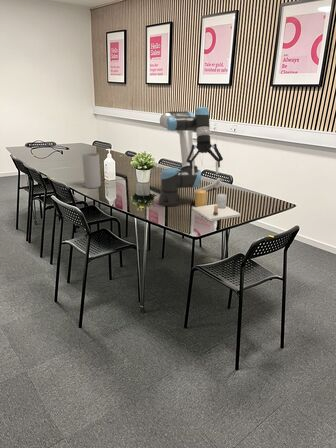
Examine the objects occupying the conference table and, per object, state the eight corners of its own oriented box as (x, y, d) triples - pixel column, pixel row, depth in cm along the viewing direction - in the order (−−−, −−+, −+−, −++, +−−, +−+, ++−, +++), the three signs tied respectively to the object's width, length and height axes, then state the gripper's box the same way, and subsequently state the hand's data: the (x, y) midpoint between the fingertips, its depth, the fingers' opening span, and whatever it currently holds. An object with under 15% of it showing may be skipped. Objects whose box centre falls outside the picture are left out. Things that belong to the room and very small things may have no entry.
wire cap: (193, 204, 227) (194, 190, 223) (202, 203, 230) (203, 189, 226) (198, 207, 221) (199, 193, 218) (207, 206, 224) (208, 192, 220)
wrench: (194, 197, 251) (221, 186, 268) (196, 198, 250) (222, 186, 267) (193, 187, 248) (221, 176, 264) (195, 188, 246) (222, 177, 263)
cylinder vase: (102, 184, 271) (100, 153, 261) (98, 188, 259) (96, 156, 250) (87, 183, 272) (85, 152, 262) (82, 188, 260) (79, 155, 251)
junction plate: (192, 209, 218) (192, 195, 214) (221, 205, 226) (222, 191, 223) (209, 221, 199) (210, 206, 196) (240, 216, 208) (241, 201, 204)
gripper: (181, 135, 183) (183, 174, 183) (227, 133, 184) (229, 172, 185) (180, 138, 190) (182, 176, 190) (223, 136, 192) (225, 174, 192)
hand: (205, 174), depth 188 cm, fingers open, 13 cm apart
